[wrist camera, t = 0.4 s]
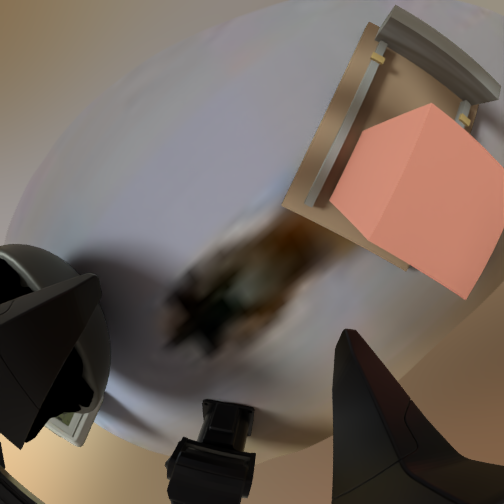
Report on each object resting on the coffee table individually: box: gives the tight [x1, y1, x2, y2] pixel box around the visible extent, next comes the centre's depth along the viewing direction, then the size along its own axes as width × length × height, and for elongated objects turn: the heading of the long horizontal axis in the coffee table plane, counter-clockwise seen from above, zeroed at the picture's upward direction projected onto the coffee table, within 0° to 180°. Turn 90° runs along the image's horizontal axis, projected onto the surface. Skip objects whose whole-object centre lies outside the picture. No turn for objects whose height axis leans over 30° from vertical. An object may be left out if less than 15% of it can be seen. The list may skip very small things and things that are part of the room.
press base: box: [282, 5, 501, 271], centre depth 16 cm, size 18×12×6 cm, turn 156°
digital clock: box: [44, 395, 104, 447], centre depth 31 cm, size 16×9×11 cm, turn 68°
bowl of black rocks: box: [0, 244, 111, 443], centre depth 20 cm, size 20×20×19 cm
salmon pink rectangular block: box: [329, 103, 504, 300], centre depth 14 cm, size 6×6×11 cm
